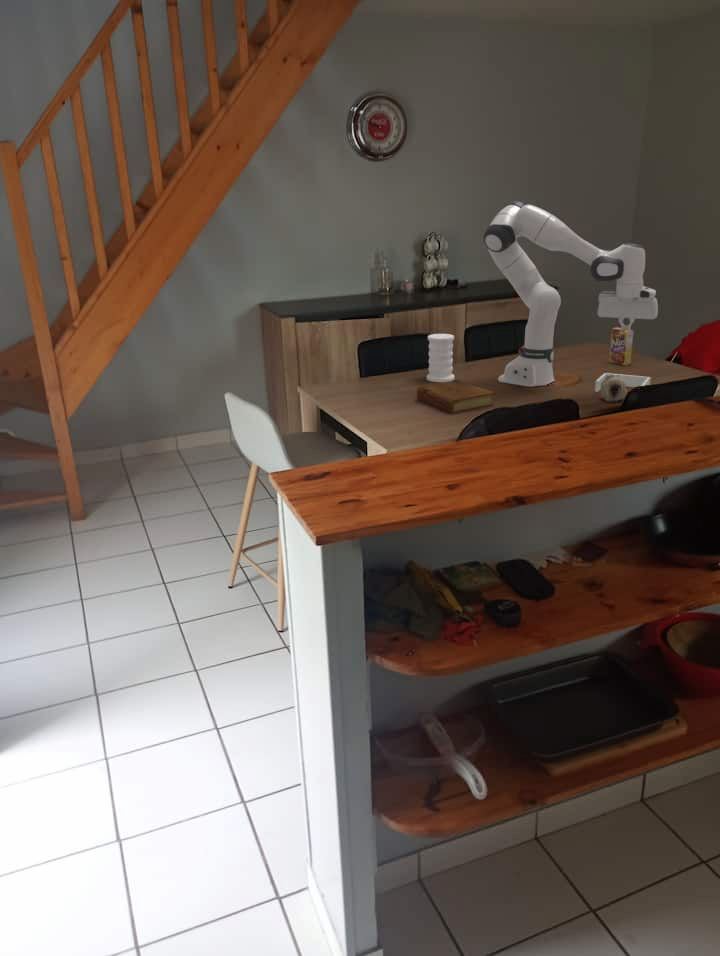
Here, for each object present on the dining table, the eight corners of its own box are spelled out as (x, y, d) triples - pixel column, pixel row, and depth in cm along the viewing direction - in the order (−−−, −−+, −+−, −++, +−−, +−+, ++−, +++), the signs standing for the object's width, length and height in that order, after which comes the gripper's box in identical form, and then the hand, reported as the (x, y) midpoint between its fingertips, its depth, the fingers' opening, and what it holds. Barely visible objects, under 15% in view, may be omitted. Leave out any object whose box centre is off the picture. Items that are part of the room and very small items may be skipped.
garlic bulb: (599, 404, 279) (593, 379, 278) (618, 398, 281) (612, 372, 280) (615, 403, 270) (608, 376, 269) (634, 396, 272) (627, 370, 271)
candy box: (608, 362, 331) (611, 328, 325) (615, 361, 333) (618, 326, 327) (623, 366, 324) (627, 331, 318) (630, 364, 325) (634, 329, 320)
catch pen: (594, 392, 286) (595, 380, 285) (603, 383, 297) (604, 372, 296) (642, 397, 278) (643, 385, 276) (649, 388, 289) (651, 377, 287)
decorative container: (440, 383, 306) (441, 340, 299) (421, 378, 314) (421, 336, 307) (460, 378, 312) (460, 335, 306) (440, 374, 321) (440, 332, 314)
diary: (416, 401, 284) (416, 387, 282) (456, 394, 293) (456, 379, 291) (452, 415, 266) (452, 399, 263) (493, 406, 274) (493, 391, 272)
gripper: (597, 291, 265) (594, 330, 270) (657, 293, 255) (653, 333, 260) (601, 289, 270) (598, 327, 275) (660, 291, 260) (656, 330, 265)
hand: (625, 330), depth 267 cm, fingers closed
